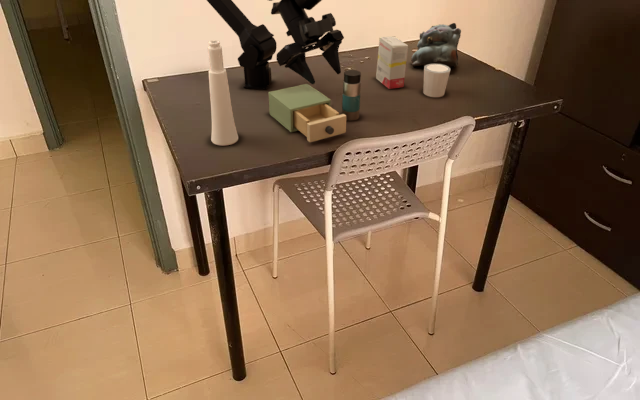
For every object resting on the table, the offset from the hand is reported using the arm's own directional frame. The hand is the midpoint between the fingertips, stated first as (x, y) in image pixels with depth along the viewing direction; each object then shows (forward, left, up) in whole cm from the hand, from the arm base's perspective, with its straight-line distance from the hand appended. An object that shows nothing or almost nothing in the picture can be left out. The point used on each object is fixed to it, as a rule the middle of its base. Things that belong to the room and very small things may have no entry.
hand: (326, 78), depth 124 cm
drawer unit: (-5, -8, -7) cm, 12 cm away
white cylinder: (+27, +14, -8) cm, 31 cm away
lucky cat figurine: (+27, +35, -8) cm, 45 cm away
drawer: (0, -14, -7) cm, 16 cm away
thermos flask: (+7, -5, -7) cm, 11 cm away
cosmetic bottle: (-20, -21, -8) cm, 30 cm away
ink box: (+15, +19, -8) cm, 25 cm away
